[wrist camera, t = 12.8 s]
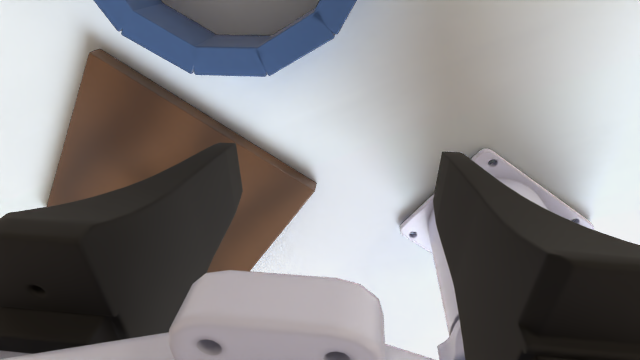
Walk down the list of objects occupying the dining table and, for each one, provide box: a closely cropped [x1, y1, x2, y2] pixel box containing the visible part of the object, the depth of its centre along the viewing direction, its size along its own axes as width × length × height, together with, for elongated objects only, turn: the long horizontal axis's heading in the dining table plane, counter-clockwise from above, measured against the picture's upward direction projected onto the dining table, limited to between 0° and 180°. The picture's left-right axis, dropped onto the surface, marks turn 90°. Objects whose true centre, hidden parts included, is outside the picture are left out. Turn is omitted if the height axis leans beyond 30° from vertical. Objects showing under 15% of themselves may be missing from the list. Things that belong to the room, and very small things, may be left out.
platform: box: [47, 49, 317, 273], centre depth 25 cm, size 15×15×4 cm
